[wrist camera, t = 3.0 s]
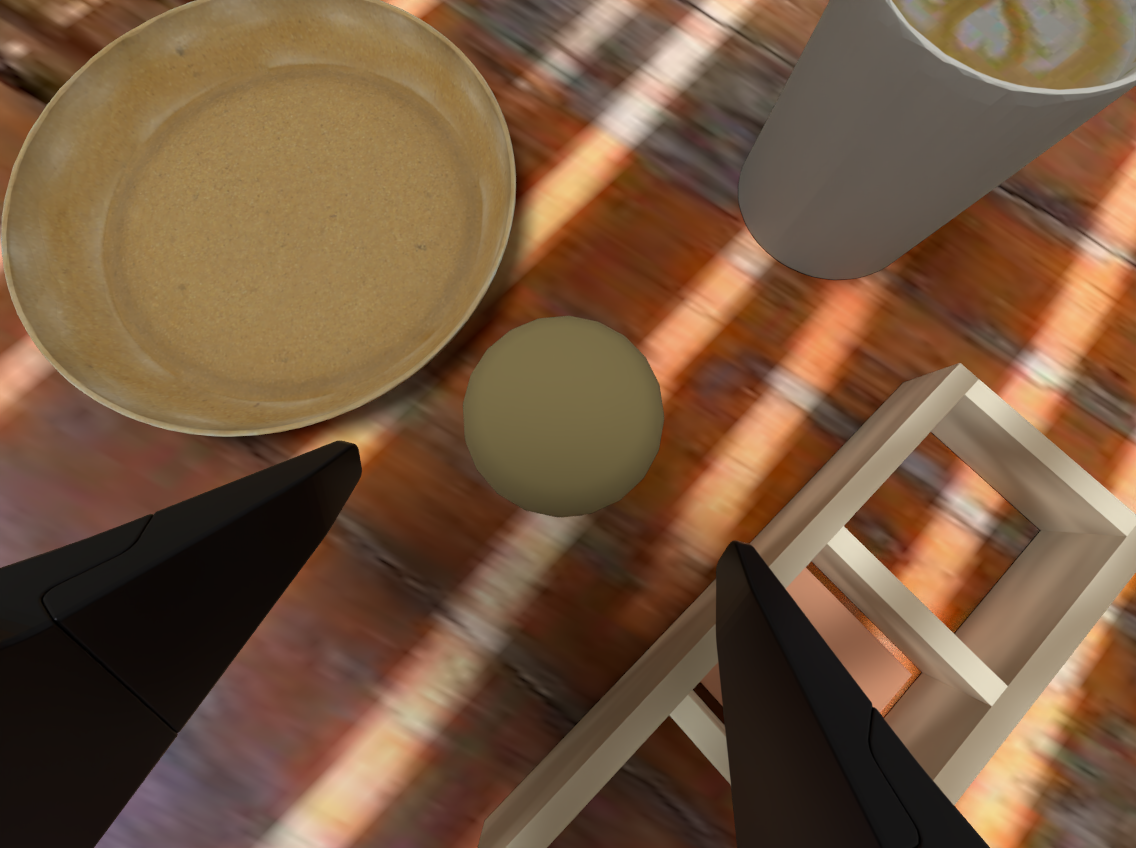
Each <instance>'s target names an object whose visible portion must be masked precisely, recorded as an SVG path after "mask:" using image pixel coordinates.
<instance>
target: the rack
mask: <svg viewBox="0 0 1136 848" xmlns="http://www.w3.org/2000/svg"><path fill="white" fill-rule="evenodd" d="M930 432H932V433H933V434H934V435H935V436H936V437H937V438H939V439H940V440H941V441H942V442H943V443H944V444H945V445H946V446H947V447H949V448H950V449H951V450H952V451H953V452H954V453H955V454H956V455H957V456H959V457H960V458H961V459H962V460H963V461H964V462H965V463H966V464H967V465H969V466H970V467H971V468H972V469H973V470H974V471H975V472H976V473H977V474H979V475H980V476H981V477H982V478H983V479H984V480H985V481H986V482H987V483H989V484H990V485H991V486H992V487H993V488H994V489H995V490H996V491H997V492H999V493H1000V494H1001V495H1002V496H1003V497H1004V498H1005V499H1006V500H1007V501H1009V502H1010V503H1011V504H1012V505H1013V506H1014V507H1015V508H1016V509H1017V510H1019V511H1020V512H1021V513H1022V514H1023V515H1024V516H1025V517H1026V518H1027V519H1029V520H1030V521H1031V522H1032V523H1033V524H1034V525H1035V526H1036V527H1037V528H1039V529H1040V530H1041V531H1040V532H1039V533H1038V534H1037V536H1036V537H1035V538H1034V539H1033V540H1032V542H1031V543H1030V544H1029V545H1028V546H1027V548H1026V549H1025V550H1024V551H1023V552H1022V554H1021V555H1020V556H1019V557H1018V558H1017V560H1016V561H1015V562H1014V563H1013V564H1012V566H1011V567H1010V568H1009V569H1008V570H1007V572H1006V573H1005V574H1004V575H1003V576H1002V578H1001V579H1000V580H999V581H998V582H997V584H996V585H995V586H994V587H993V588H992V590H991V591H990V592H989V593H988V594H987V596H986V597H985V598H984V599H983V600H982V602H981V603H980V604H979V605H978V606H977V608H976V609H975V610H974V611H973V612H972V614H971V615H970V616H969V617H968V618H967V620H966V621H965V622H964V623H963V624H962V625H961V627H960V628H959V629H958V630H957V631H956V633H955V634H954V633H953V632H952V631H951V630H949V629H948V628H947V627H946V626H945V625H944V624H943V623H942V622H941V621H940V620H939V619H938V618H937V617H936V616H935V615H934V614H933V613H932V612H931V611H930V610H929V609H928V608H927V607H926V606H925V605H924V604H923V603H922V602H921V601H920V600H919V599H918V598H917V597H916V596H915V595H914V594H913V593H912V592H911V591H909V590H908V589H907V588H906V587H905V586H904V585H903V584H902V583H901V582H900V581H899V580H898V579H897V578H896V577H895V576H894V575H893V574H892V573H891V572H890V571H889V570H888V569H887V568H886V567H885V566H884V565H883V564H882V563H881V562H880V561H879V560H878V559H877V558H876V557H875V556H874V555H873V554H872V553H871V552H869V551H868V550H867V549H866V548H865V547H864V546H863V545H862V544H861V543H860V542H859V541H858V540H857V539H856V538H855V537H854V536H853V535H852V534H851V533H850V532H849V531H848V530H847V529H846V528H845V527H844V525H845V524H846V523H847V522H848V521H849V520H850V518H851V517H852V516H853V515H854V514H855V513H856V512H857V511H858V510H859V509H860V508H861V507H862V505H863V504H864V503H865V502H866V501H867V500H868V499H869V498H870V497H871V496H872V495H873V493H874V492H875V491H876V490H877V489H878V488H879V487H880V486H881V485H882V484H883V483H884V482H885V480H886V479H887V478H888V477H889V476H890V475H891V474H892V473H893V472H894V471H895V470H896V469H897V467H898V466H899V465H900V464H901V463H902V462H903V461H904V460H905V459H906V458H907V457H908V456H909V454H910V453H911V452H912V451H913V450H914V449H915V448H916V447H917V446H918V445H919V444H920V443H921V441H922V440H923V439H924V438H925V437H926V436H927V435H928V434H929V433H930ZM750 544H751V545H752V546H753V547H754V548H755V549H756V551H757V552H758V553H759V555H760V556H761V557H762V558H763V560H764V561H765V562H766V564H767V565H768V566H769V568H770V569H771V570H772V572H773V573H774V574H775V576H776V577H777V578H778V580H779V581H780V582H781V584H782V585H783V586H784V587H785V589H786V590H787V591H788V593H789V594H790V595H791V597H792V598H793V599H794V601H795V602H796V603H797V605H798V606H799V607H800V609H801V610H802V611H803V612H804V614H805V615H806V616H807V618H808V619H809V620H810V622H811V623H812V624H813V626H814V627H815V628H816V630H817V631H818V632H819V634H820V635H821V636H822V638H823V639H824V640H825V641H826V643H827V644H828V645H829V647H830V648H831V649H832V651H833V652H834V653H835V655H836V656H837V657H838V659H839V660H840V661H841V663H842V664H843V665H844V667H845V668H846V669H847V670H848V672H849V673H850V674H851V676H852V677H853V678H854V680H855V681H856V682H857V684H858V685H859V686H860V688H861V689H862V690H863V692H864V693H865V694H866V695H867V697H868V698H869V699H870V701H871V702H872V707H875V708H876V709H877V710H878V711H879V712H881V711H882V710H883V709H884V708H885V706H886V705H887V704H888V703H889V702H890V700H891V699H892V698H893V697H894V696H895V694H896V693H897V692H898V691H899V690H900V688H901V687H902V686H903V685H904V684H905V683H906V681H907V680H908V679H909V678H910V677H911V675H912V674H911V673H910V672H909V671H908V670H907V669H906V668H905V667H904V666H903V665H902V664H901V663H900V662H899V661H898V660H897V659H896V658H895V657H894V656H893V655H892V654H891V653H890V652H889V651H888V650H887V649H886V648H885V647H884V646H883V645H882V644H881V643H880V642H879V641H878V640H877V639H876V638H875V637H874V636H873V635H872V634H871V633H870V632H869V631H868V630H867V629H866V628H865V627H864V626H863V625H862V624H861V623H860V622H859V621H858V620H857V619H856V618H855V617H854V616H853V615H852V614H851V613H850V612H849V611H848V610H847V609H846V608H845V607H844V606H843V605H842V604H841V603H840V601H839V600H838V599H837V598H836V597H835V596H834V595H833V594H832V593H831V592H830V591H829V590H828V589H827V588H826V587H825V586H824V585H823V584H822V583H821V582H820V581H819V580H818V579H817V578H816V577H815V576H814V575H813V574H812V573H811V572H810V571H809V570H808V569H807V568H806V566H807V565H808V564H809V563H810V562H811V561H812V562H813V563H814V564H815V565H816V566H817V567H818V568H819V569H820V570H821V571H822V572H823V573H824V574H825V575H826V576H827V577H828V578H829V579H830V580H831V581H832V582H833V583H834V584H835V585H836V586H837V587H838V588H839V589H840V590H841V591H842V592H843V593H844V594H845V595H846V596H847V597H848V598H849V599H850V600H851V601H852V602H853V603H854V604H855V605H856V606H857V607H858V608H859V609H860V610H861V611H862V612H863V613H864V614H865V615H866V616H867V617H868V618H869V619H870V620H871V621H872V622H873V623H874V624H875V625H876V626H877V627H878V628H879V629H880V630H881V631H882V632H883V633H884V634H885V635H886V636H887V637H888V638H889V639H890V640H891V641H892V642H893V643H894V644H895V645H896V646H897V647H898V648H899V649H900V650H901V651H902V652H903V653H904V654H905V655H906V657H907V658H908V659H909V660H910V661H911V662H912V663H913V664H914V665H915V666H916V667H917V668H918V669H919V670H920V671H921V672H922V673H921V675H920V676H919V677H918V678H917V679H916V681H915V682H914V683H913V684H912V685H911V687H910V688H909V689H908V690H907V691H906V693H905V694H904V695H903V696H902V697H901V699H900V700H899V701H898V702H897V703H896V705H895V706H894V707H893V708H892V709H891V711H890V712H889V713H888V714H887V715H886V717H885V718H884V719H885V720H886V722H887V723H888V724H889V726H890V727H891V728H892V730H893V731H894V732H895V733H896V735H897V736H898V737H899V738H900V740H901V741H902V742H903V744H904V745H905V746H906V747H907V749H908V750H909V751H910V753H911V754H912V755H913V756H914V758H915V759H916V760H917V761H918V763H919V764H920V765H921V766H922V768H923V769H924V770H925V771H926V772H927V774H928V775H929V776H930V777H931V778H932V780H933V781H934V782H935V783H936V784H937V786H938V787H939V788H940V789H941V790H942V792H943V793H944V794H945V795H946V797H947V798H948V799H949V800H950V801H951V803H952V804H953V805H955V804H956V802H957V801H958V800H959V799H960V797H961V796H962V795H963V793H964V792H965V791H966V790H967V788H968V787H969V786H970V784H971V783H972V782H973V781H974V779H975V778H976V777H977V775H978V774H979V773H980V772H981V770H982V769H983V768H984V766H985V765H986V764H987V763H988V761H989V760H990V759H991V757H992V756H993V755H994V754H995V752H996V751H997V750H998V748H999V747H1000V746H1001V745H1002V743H1003V742H1004V741H1005V739H1006V738H1007V737H1008V736H1009V734H1010V733H1011V732H1012V730H1013V729H1014V728H1015V727H1016V725H1017V724H1018V723H1019V721H1020V720H1021V719H1022V718H1023V716H1024V715H1025V714H1026V713H1027V711H1028V710H1029V709H1030V707H1031V706H1032V705H1033V704H1034V702H1035V701H1036V700H1037V698H1038V697H1039V696H1040V695H1041V693H1042V692H1043V691H1044V689H1045V688H1046V687H1047V686H1048V684H1049V683H1050V682H1051V680H1052V679H1053V678H1054V677H1055V675H1056V674H1057V673H1058V671H1059V670H1060V669H1061V668H1062V666H1063V665H1064V664H1065V662H1066V661H1067V660H1068V659H1069V657H1070V656H1071V655H1072V653H1073V652H1074V651H1075V650H1076V648H1077V647H1078V646H1079V644H1080V643H1081V642H1082V641H1083V639H1084V638H1085V637H1086V635H1087V634H1088V633H1089V632H1090V630H1091V629H1092V628H1093V626H1094V625H1095V624H1096V623H1097V621H1098V620H1099V619H1100V617H1101V616H1102V615H1103V614H1104V612H1105V611H1106V610H1107V609H1108V607H1109V606H1110V605H1111V603H1112V602H1113V601H1114V600H1115V598H1116V597H1117V596H1118V594H1119V593H1120V592H1121V591H1122V589H1123V588H1124V587H1125V585H1126V584H1127V583H1128V582H1129V580H1130V579H1131V578H1132V576H1133V575H1134V574H1135V573H1136V514H1135V513H1134V512H1132V511H1131V510H1130V509H1129V508H1128V507H1127V506H1125V505H1124V504H1123V503H1122V502H1121V501H1120V500H1118V499H1117V498H1116V497H1115V496H1114V495H1113V494H1111V493H1110V492H1109V491H1108V490H1107V489H1106V488H1105V487H1103V486H1102V485H1101V484H1100V483H1099V482H1098V481H1096V480H1095V479H1094V478H1093V477H1092V476H1091V475H1089V474H1088V473H1087V472H1086V471H1085V470H1084V469H1082V468H1081V467H1080V466H1079V465H1078V464H1077V463H1076V462H1074V461H1073V460H1072V459H1071V458H1070V457H1069V456H1067V455H1066V454H1065V453H1064V452H1063V451H1062V450H1060V449H1059V448H1058V447H1057V446H1056V445H1055V444H1053V443H1052V442H1051V441H1050V440H1049V439H1048V438H1047V437H1045V436H1044V435H1043V434H1042V433H1041V432H1040V431H1038V430H1037V429H1036V428H1035V427H1034V426H1033V425H1031V424H1030V423H1029V422H1028V421H1027V420H1026V419H1025V418H1023V417H1022V416H1021V415H1020V414H1019V413H1018V412H1016V411H1015V410H1014V409H1013V408H1012V407H1011V406H1009V405H1008V404H1007V403H1006V402H1005V401H1004V400H1002V399H1001V398H1000V397H999V396H998V395H997V394H996V393H994V392H993V391H992V390H991V389H990V388H989V387H987V386H986V385H985V384H984V383H983V382H982V381H980V380H979V379H978V378H977V377H976V376H975V375H973V374H972V373H971V372H970V371H969V370H968V369H967V368H965V367H964V366H963V365H962V364H961V363H958V364H956V365H953V366H950V367H947V368H944V369H941V370H938V371H935V372H932V373H929V374H927V375H924V376H921V377H918V378H915V379H912V380H909V381H906V382H903V384H902V385H901V386H900V387H899V388H898V389H897V390H896V391H895V392H894V393H893V394H892V395H891V396H890V397H889V398H888V399H887V400H886V401H885V402H884V403H883V404H882V405H881V407H880V408H879V409H878V410H877V411H876V412H875V413H874V414H873V415H872V416H871V417H870V418H869V419H868V420H867V421H866V422H865V423H864V424H863V425H862V426H861V427H860V428H859V430H858V431H857V432H856V433H855V434H854V435H853V436H852V437H851V438H850V439H849V440H848V441H847V442H846V443H845V444H844V445H843V446H842V447H841V448H840V449H839V450H838V451H837V453H836V454H835V455H834V456H833V457H832V458H831V459H830V460H829V461H828V462H827V463H826V464H825V465H824V466H823V467H822V468H821V469H820V470H819V471H818V472H817V473H816V475H815V476H814V477H813V478H812V479H811V480H810V481H809V482H808V483H807V484H806V485H805V486H804V487H803V488H802V489H801V490H800V491H799V492H798V493H797V494H796V495H795V496H794V498H793V499H792V500H791V501H790V502H789V503H788V504H787V505H786V506H785V507H784V508H783V509H782V510H781V511H780V512H779V513H778V514H777V515H776V516H775V517H774V518H773V519H772V521H771V522H770V523H769V524H768V525H767V526H766V527H765V528H764V529H763V530H762V531H761V532H760V533H759V534H758V535H757V536H756V537H755V538H754V539H753V540H752V541H751V542H750ZM699 682H701V683H702V684H703V685H704V686H705V687H706V689H707V690H708V691H709V692H710V693H711V694H712V695H713V696H714V697H715V699H716V700H717V701H718V702H719V703H720V704H721V705H722V706H723V703H722V693H721V684H720V674H719V664H718V654H717V644H716V579H715V580H714V581H713V582H712V583H711V584H710V585H709V586H708V587H707V589H706V590H705V591H704V592H703V593H702V594H701V595H700V596H699V597H698V598H697V599H696V600H695V601H694V602H693V603H692V604H691V605H690V606H689V607H688V608H687V609H686V610H685V612H684V613H683V614H682V615H681V616H680V617H679V618H678V619H677V620H676V621H675V622H674V623H673V624H672V625H671V626H670V627H669V628H668V629H667V630H666V631H665V632H664V633H663V635H662V636H661V637H660V638H659V639H658V640H657V641H656V642H655V643H654V644H653V645H652V646H651V647H650V648H649V649H648V650H647V651H646V652H645V653H644V654H643V655H642V657H641V658H640V659H639V660H638V661H637V662H636V663H635V664H634V665H633V666H632V667H631V668H630V669H629V670H628V671H627V672H626V673H625V674H624V675H623V676H622V677H621V678H620V680H619V681H618V682H617V683H616V684H615V685H614V686H613V687H612V688H611V689H610V690H609V691H608V692H607V693H606V694H605V695H604V696H603V697H602V698H601V699H600V700H599V701H598V703H597V704H596V705H595V706H594V707H593V708H592V709H591V710H590V711H589V712H588V713H587V714H586V715H585V716H584V717H583V718H582V719H581V720H580V721H579V722H578V723H577V724H576V726H575V727H574V728H573V729H572V730H571V731H570V732H569V733H568V734H567V735H566V736H565V737H564V738H563V739H562V740H561V741H560V742H559V743H558V744H557V745H556V746H555V748H554V749H553V750H552V751H551V752H550V753H549V754H548V755H547V756H546V757H545V758H544V759H543V760H542V761H541V762H540V763H539V764H538V765H537V766H536V767H535V768H534V769H533V771H532V772H531V773H530V774H529V775H528V776H527V777H526V778H525V779H524V780H523V781H522V782H521V783H520V784H519V785H518V786H517V787H516V788H515V789H514V790H513V791H512V792H511V794H510V795H509V796H508V797H507V798H506V799H505V800H504V801H503V802H502V803H501V804H500V805H499V806H498V807H497V808H496V809H495V810H494V811H493V812H492V813H491V814H490V815H489V817H488V818H487V819H486V820H485V821H484V825H483V829H482V833H481V837H480V841H479V844H478V848H547V847H548V846H549V845H550V844H551V843H552V842H553V840H554V839H555V838H556V837H557V836H558V835H559V834H560V833H561V832H562V831H563V830H564V829H565V827H566V826H567V825H568V824H569V823H570V822H571V821H572V820H573V819H574V818H575V817H576V816H577V814H578V813H579V812H580V811H581V810H582V809H583V808H584V807H585V806H586V805H587V804H588V803H589V801H590V800H591V799H592V798H593V797H594V796H595V795H596V794H597V793H598V792H599V791H600V790H601V788H602V787H603V786H604V785H605V784H606V783H607V782H608V781H609V780H610V779H611V778H612V776H613V775H614V774H615V773H616V772H617V771H618V770H619V769H620V768H621V767H622V766H623V765H624V763H625V762H626V761H627V760H628V759H629V758H630V757H631V756H632V755H633V754H634V753H635V752H636V750H637V749H638V748H639V747H640V746H641V745H642V744H643V743H644V742H645V741H646V740H647V739H648V737H649V736H650V735H651V734H652V733H653V732H654V731H655V730H656V729H657V728H658V727H659V726H660V724H661V723H662V722H663V721H664V720H665V719H666V718H667V717H668V716H669V715H670V716H671V717H672V719H673V720H674V721H675V722H676V723H677V724H678V725H679V727H680V728H681V729H682V730H683V731H684V732H685V733H686V735H687V736H688V737H689V738H690V739H691V740H692V741H693V743H694V744H695V745H696V746H697V747H698V748H699V749H700V751H701V752H702V753H703V754H704V755H705V756H706V757H707V758H708V760H709V761H710V762H711V763H712V764H713V765H714V766H715V768H716V769H717V770H718V771H719V772H720V773H721V774H722V776H723V777H724V778H725V779H726V780H727V781H728V782H729V784H730V785H731V781H730V771H729V761H728V752H727V742H726V732H725V725H724V724H723V723H722V722H721V721H720V720H719V719H718V717H717V716H716V715H715V714H714V713H713V712H712V711H711V710H710V709H709V707H708V706H707V705H706V704H705V703H704V702H703V701H702V700H701V698H700V697H699V696H698V695H697V694H696V693H695V692H694V691H693V689H694V688H695V687H696V685H697V684H698V683H699Z"/></svg>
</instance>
